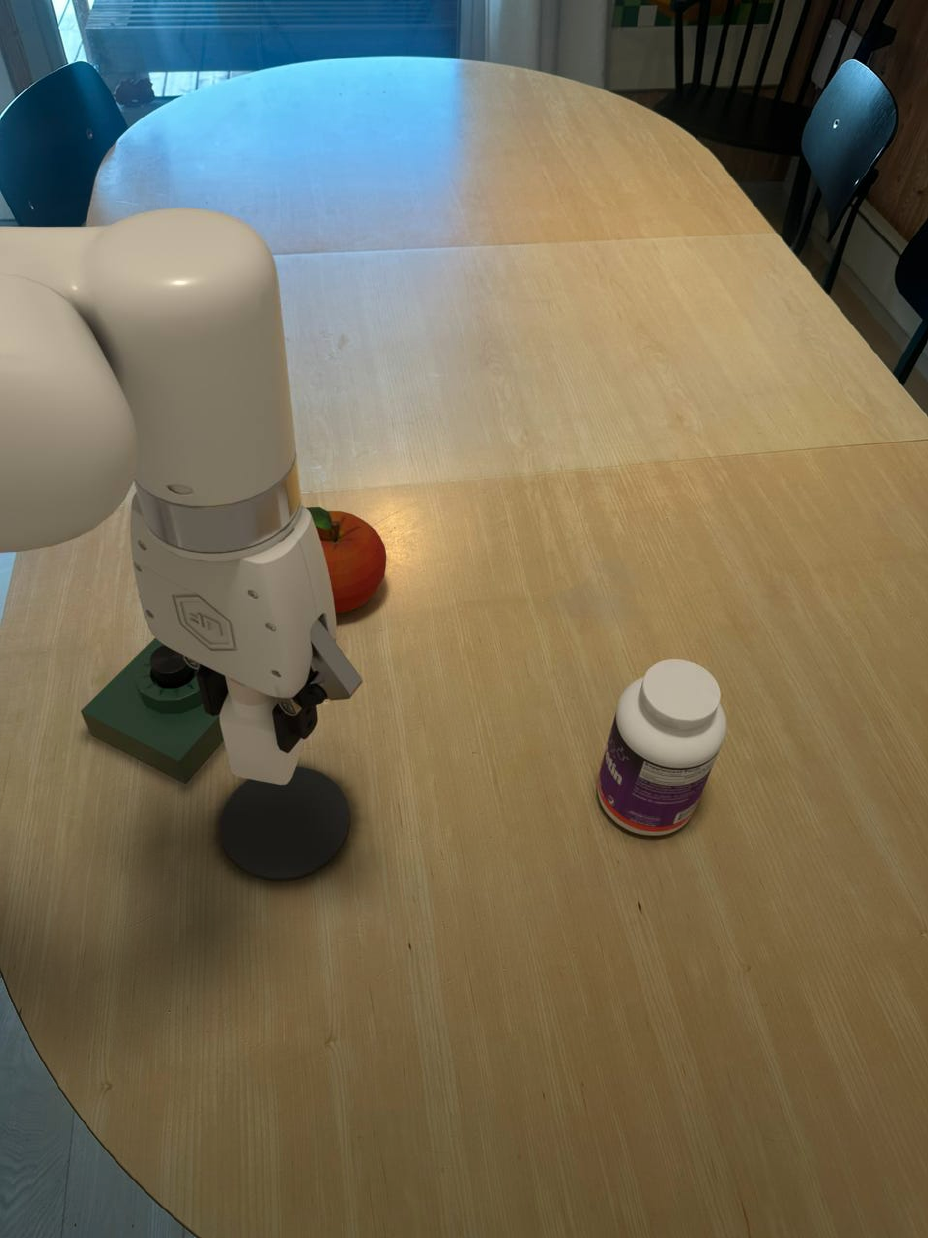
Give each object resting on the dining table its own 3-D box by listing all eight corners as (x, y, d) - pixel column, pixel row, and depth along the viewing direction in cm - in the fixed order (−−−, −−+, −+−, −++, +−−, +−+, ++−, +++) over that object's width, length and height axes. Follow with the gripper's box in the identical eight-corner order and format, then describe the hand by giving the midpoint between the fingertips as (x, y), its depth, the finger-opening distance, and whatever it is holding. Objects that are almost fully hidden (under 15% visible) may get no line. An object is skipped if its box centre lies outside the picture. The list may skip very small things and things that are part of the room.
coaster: (302, 903, 71) (302, 901, 71) (194, 844, 74) (193, 841, 74) (373, 801, 78) (373, 798, 77) (270, 750, 80) (270, 747, 80)
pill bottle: (599, 749, 82) (627, 636, 71) (694, 765, 81) (737, 653, 71) (591, 832, 76) (620, 723, 66) (693, 850, 76) (739, 743, 65)
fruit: (375, 637, 89) (372, 559, 82) (275, 622, 90) (262, 543, 83) (397, 566, 96) (396, 488, 88) (303, 553, 97) (294, 474, 89)
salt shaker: (308, 740, 64) (296, 645, 57) (289, 790, 61) (274, 697, 54) (250, 729, 64) (231, 634, 57) (229, 779, 62) (206, 685, 55)
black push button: (177, 694, 78) (172, 678, 77) (146, 679, 79) (141, 663, 78) (202, 668, 80) (198, 652, 79) (171, 653, 81) (167, 637, 80)
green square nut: (185, 784, 78) (174, 748, 74) (90, 734, 81) (74, 697, 77) (273, 682, 85) (267, 645, 82) (182, 640, 88) (172, 602, 84)
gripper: (27, 470, 46) (112, 704, 60) (324, 600, 41) (344, 823, 55) (134, 392, 51) (191, 626, 64) (413, 502, 46) (411, 730, 59)
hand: (261, 715), depth 59 cm, fingers closed on salt shaker, 4 cm apart
